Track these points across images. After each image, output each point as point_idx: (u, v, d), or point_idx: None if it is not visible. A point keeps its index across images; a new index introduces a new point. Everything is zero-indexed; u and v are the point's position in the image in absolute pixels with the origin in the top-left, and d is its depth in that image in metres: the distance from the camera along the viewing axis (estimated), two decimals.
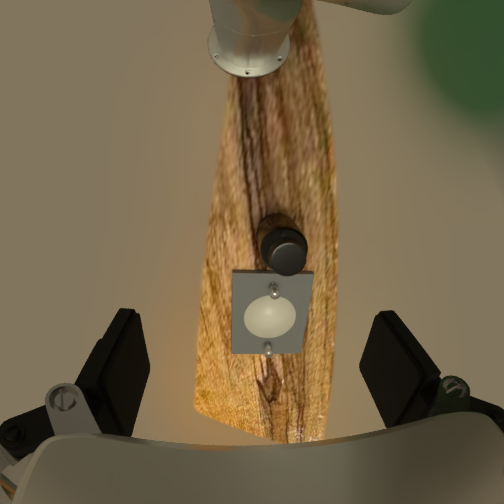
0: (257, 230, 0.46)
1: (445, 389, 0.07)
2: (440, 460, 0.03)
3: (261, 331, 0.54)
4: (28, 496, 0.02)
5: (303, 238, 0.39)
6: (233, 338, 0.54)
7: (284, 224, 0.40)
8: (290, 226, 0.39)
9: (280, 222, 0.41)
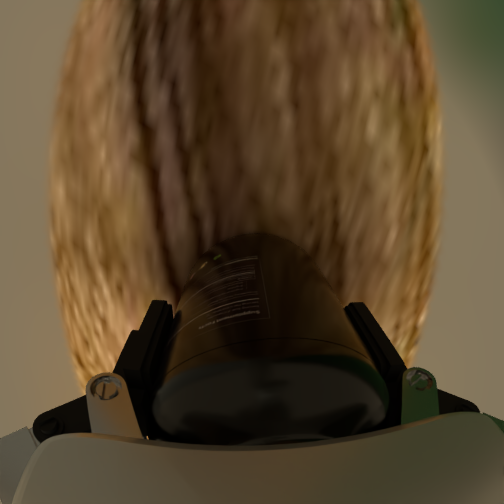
0: None
1: (409, 382, 0.07)
2: (440, 460, 0.03)
3: None
4: (28, 496, 0.02)
5: (383, 404, 0.06)
6: None
7: (277, 323, 0.06)
8: (315, 343, 0.06)
9: (258, 299, 0.07)
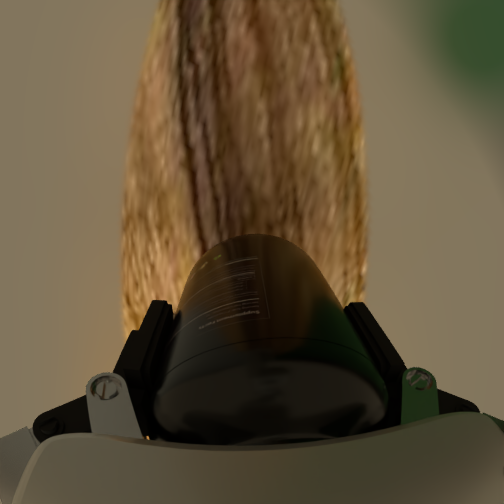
0: None
1: (409, 382, 0.07)
2: (440, 460, 0.03)
3: None
4: (28, 496, 0.02)
5: (382, 403, 0.06)
6: None
7: (276, 323, 0.06)
8: (314, 343, 0.06)
9: (258, 298, 0.07)
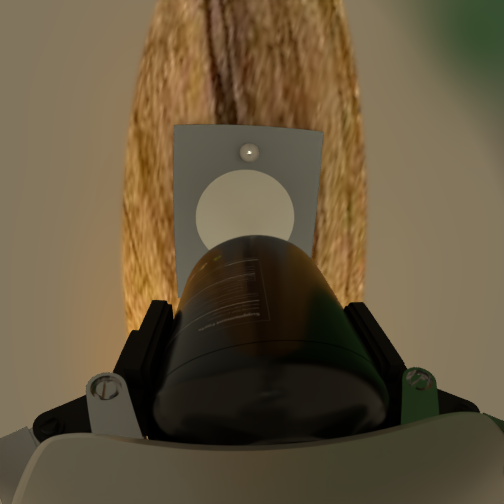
0: None
1: (409, 382, 0.07)
2: (440, 460, 0.03)
3: None
4: (28, 496, 0.02)
5: (383, 405, 0.05)
6: (179, 264, 0.29)
7: (277, 325, 0.06)
8: (315, 345, 0.06)
9: (258, 300, 0.07)
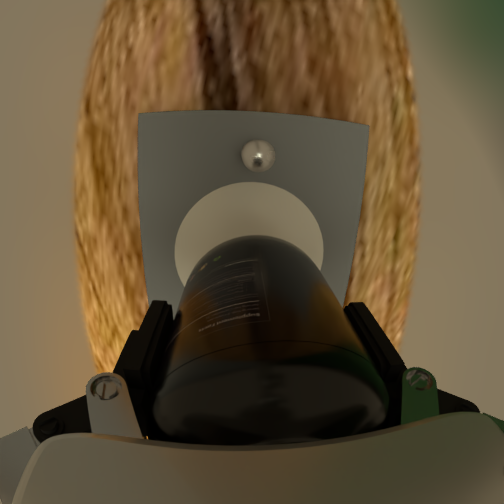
0: None
1: (409, 382, 0.07)
2: (440, 460, 0.03)
3: None
4: (28, 496, 0.02)
5: (383, 406, 0.05)
6: None
7: (277, 326, 0.06)
8: (315, 346, 0.06)
9: (258, 301, 0.07)
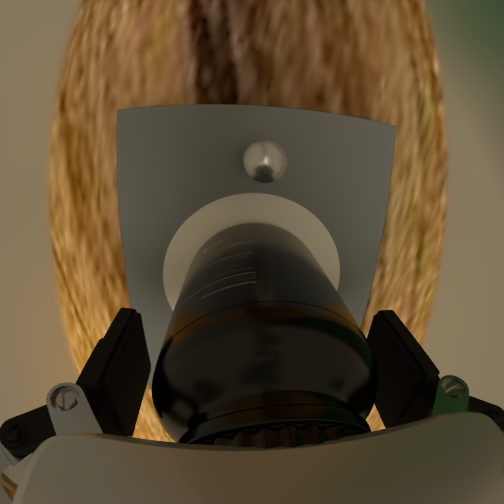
0: None
1: (444, 389, 0.07)
2: (440, 460, 0.03)
3: None
4: (28, 496, 0.02)
5: (369, 367, 0.06)
6: None
7: (271, 290, 0.07)
8: (304, 306, 0.07)
9: (255, 272, 0.08)
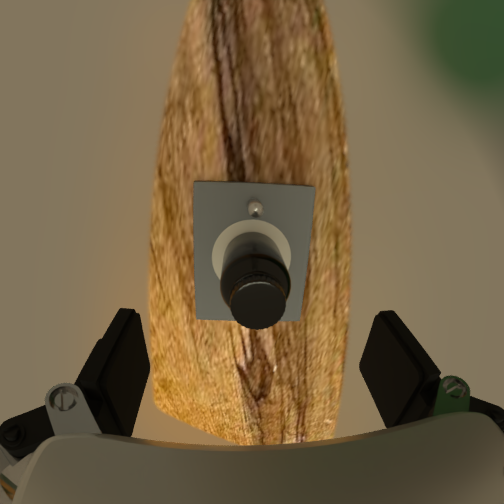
0: None
1: (445, 389, 0.07)
2: (440, 460, 0.03)
3: None
4: (28, 496, 0.02)
5: (283, 271, 0.26)
6: (197, 293, 0.36)
7: (256, 250, 0.27)
8: (264, 253, 0.27)
9: (252, 246, 0.28)
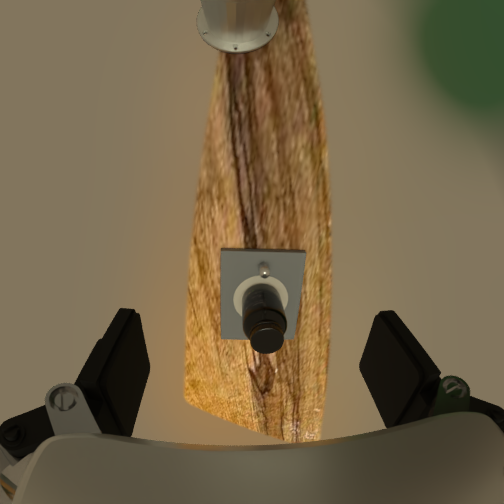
0: (242, 300, 0.48)
1: (445, 389, 0.07)
2: (440, 460, 0.03)
3: None
4: (28, 496, 0.02)
5: (282, 318, 0.42)
6: (222, 322, 0.52)
7: (265, 304, 0.42)
8: (270, 307, 0.42)
9: (262, 300, 0.43)
